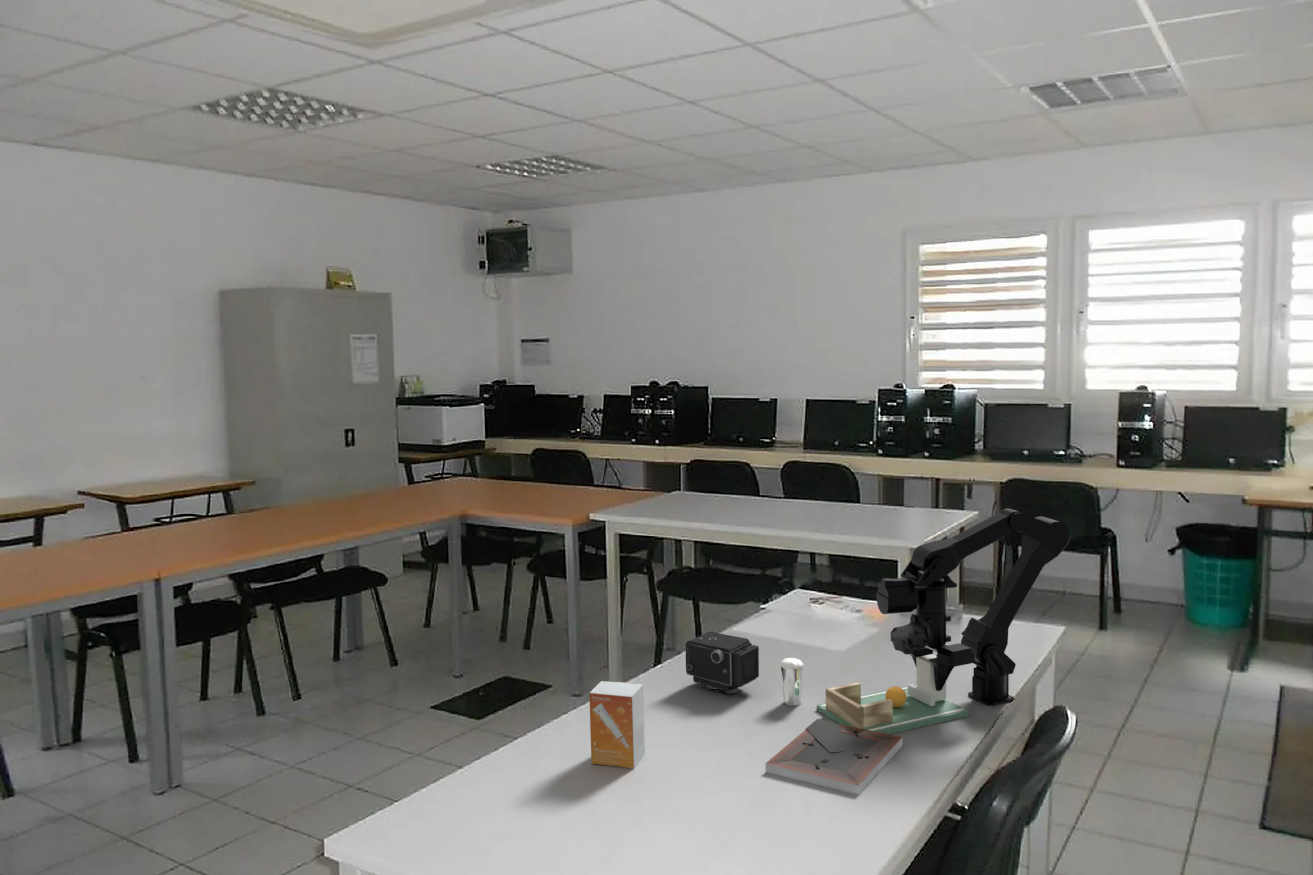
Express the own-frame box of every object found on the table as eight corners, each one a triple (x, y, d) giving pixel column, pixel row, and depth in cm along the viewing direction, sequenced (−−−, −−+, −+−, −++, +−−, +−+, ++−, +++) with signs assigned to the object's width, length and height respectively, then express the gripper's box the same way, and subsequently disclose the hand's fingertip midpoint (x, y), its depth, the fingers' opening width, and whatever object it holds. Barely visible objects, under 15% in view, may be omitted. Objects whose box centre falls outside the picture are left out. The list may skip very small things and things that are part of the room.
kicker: (927, 690, 191) (927, 651, 191) (951, 701, 185) (951, 662, 184) (907, 694, 189) (907, 655, 189) (930, 706, 183) (930, 666, 182)
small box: (590, 764, 165) (588, 692, 164) (603, 749, 171) (601, 679, 170) (634, 769, 162) (632, 696, 161) (646, 754, 169) (643, 683, 167)
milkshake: (807, 708, 187) (806, 659, 186) (780, 707, 188) (779, 658, 188) (808, 699, 192) (807, 651, 191) (781, 698, 193) (780, 650, 192)
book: (817, 731, 178) (765, 776, 160) (817, 718, 178) (765, 762, 160) (903, 749, 169) (858, 799, 151) (902, 735, 169) (858, 784, 151)
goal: (857, 702, 187) (857, 682, 187) (892, 721, 177) (892, 700, 177) (825, 708, 184) (825, 688, 184) (859, 729, 174) (859, 708, 174)
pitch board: (915, 689, 196) (915, 684, 196) (969, 715, 181) (969, 710, 181) (816, 709, 186) (816, 704, 186) (865, 739, 172) (865, 733, 172)
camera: (682, 694, 200) (741, 702, 190) (676, 641, 199) (735, 647, 190) (711, 679, 208) (769, 686, 198) (705, 628, 207) (763, 633, 198)
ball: (897, 701, 187) (897, 682, 186) (910, 708, 183) (910, 688, 183) (881, 705, 185) (881, 685, 185) (894, 712, 181) (893, 692, 181)
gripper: (868, 604, 191) (869, 679, 193) (929, 628, 174) (929, 710, 175) (913, 597, 195) (913, 670, 197) (977, 619, 178) (976, 699, 180)
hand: (931, 687), depth 187 cm, fingers closed on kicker, 4 cm apart
